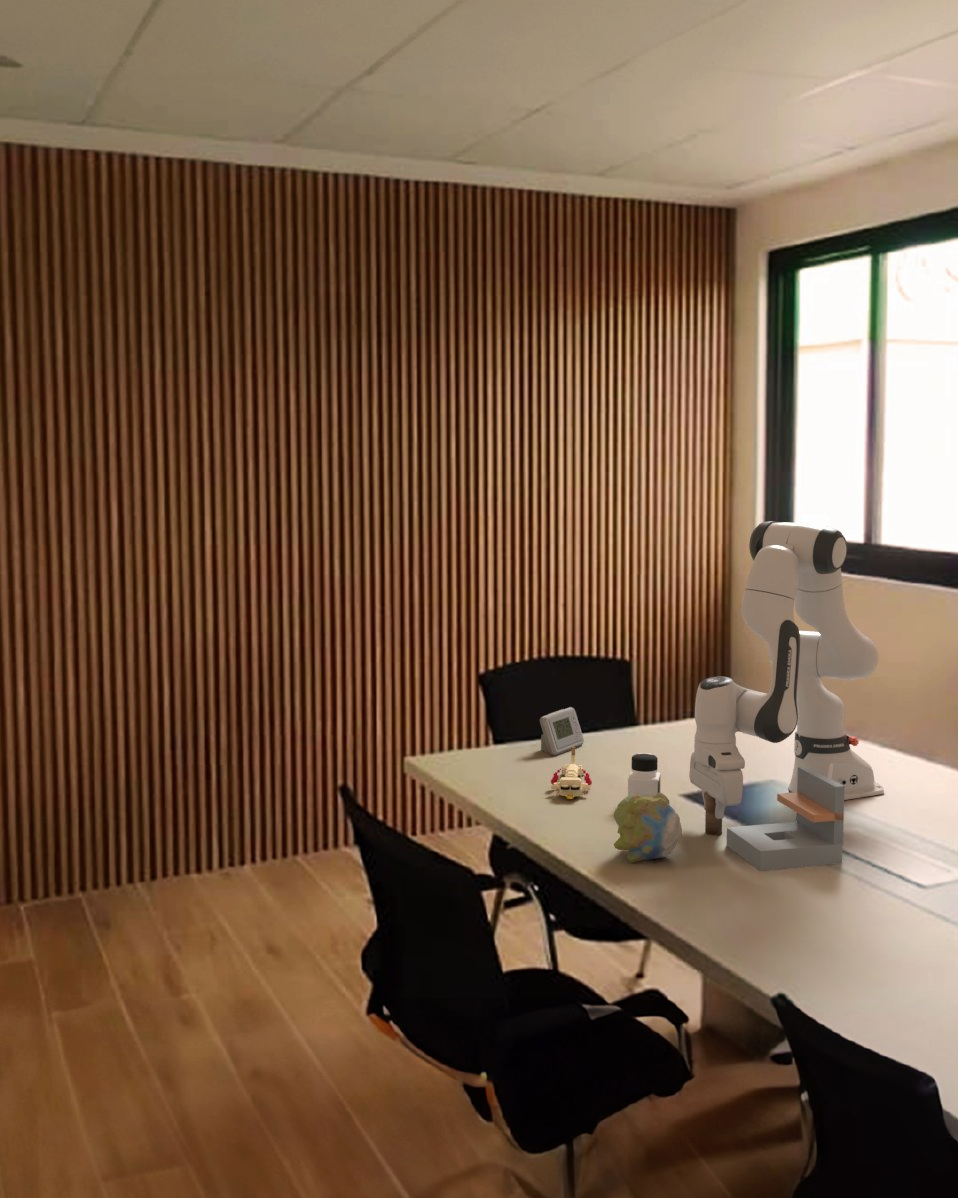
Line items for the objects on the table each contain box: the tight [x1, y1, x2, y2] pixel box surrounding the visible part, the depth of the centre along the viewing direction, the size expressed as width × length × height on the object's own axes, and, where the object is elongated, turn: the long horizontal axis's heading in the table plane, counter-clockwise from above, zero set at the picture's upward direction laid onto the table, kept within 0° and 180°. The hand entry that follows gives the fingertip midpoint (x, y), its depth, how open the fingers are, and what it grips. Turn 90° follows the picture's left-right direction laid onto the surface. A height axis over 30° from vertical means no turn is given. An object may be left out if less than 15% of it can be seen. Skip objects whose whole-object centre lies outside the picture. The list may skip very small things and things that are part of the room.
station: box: [726, 766, 845, 871], centre depth 264 cm, size 18×16×16 cm
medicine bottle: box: [627, 752, 662, 796], centre depth 300 cm, size 7×7×12 cm
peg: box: [704, 791, 723, 836], centre depth 279 cm, size 4×4×10 cm
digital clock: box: [539, 706, 585, 756], centre depth 353 cm, size 16×9×11 cm, turn 133°
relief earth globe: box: [613, 792, 683, 864], centre depth 263 cm, size 14×16×15 cm
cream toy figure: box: [550, 747, 593, 800], centre depth 316 cm, size 10×9×25 cm
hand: (713, 814), depth 279 cm, fingers closed on peg, 4 cm apart
